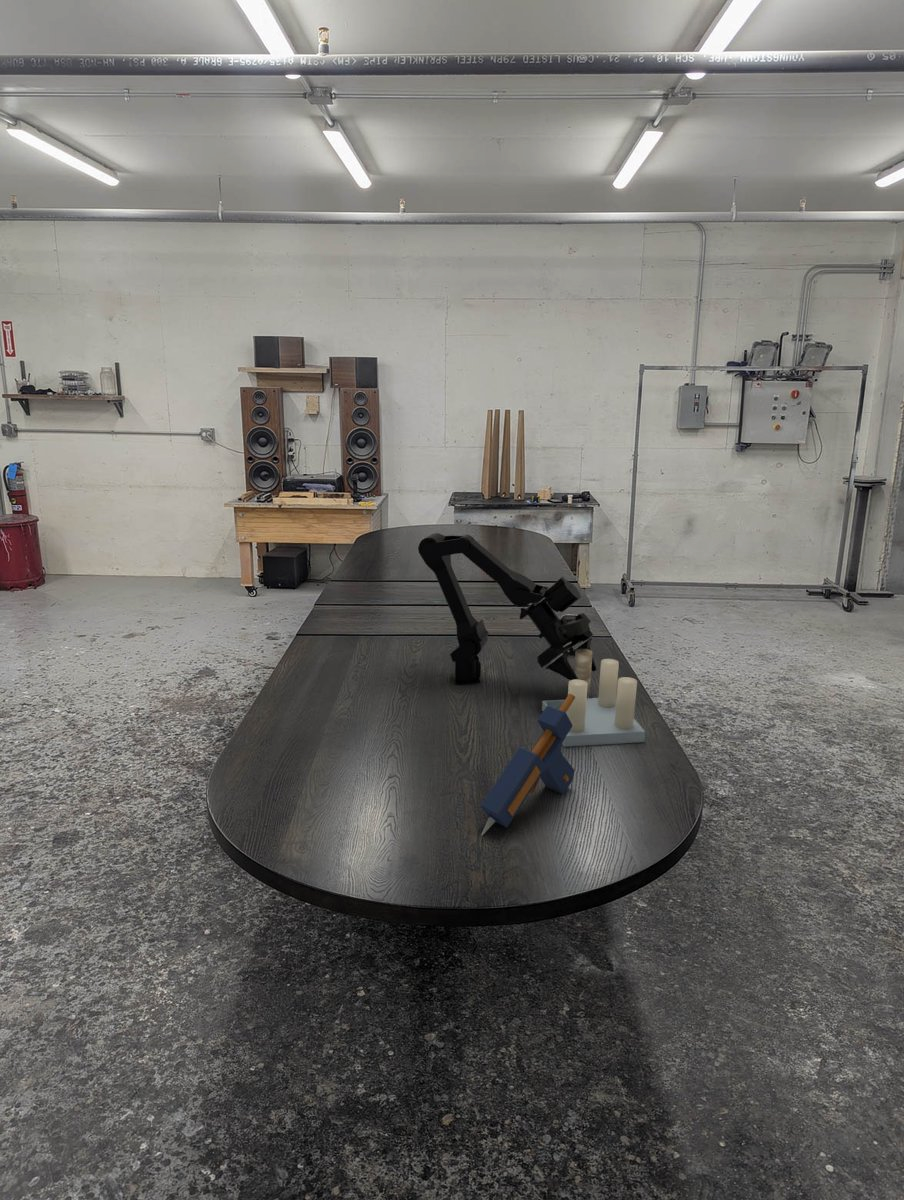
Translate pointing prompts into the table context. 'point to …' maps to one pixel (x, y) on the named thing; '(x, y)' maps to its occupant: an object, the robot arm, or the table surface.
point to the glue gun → (532, 768)
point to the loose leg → (583, 666)
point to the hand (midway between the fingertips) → (586, 676)
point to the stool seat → (602, 710)
